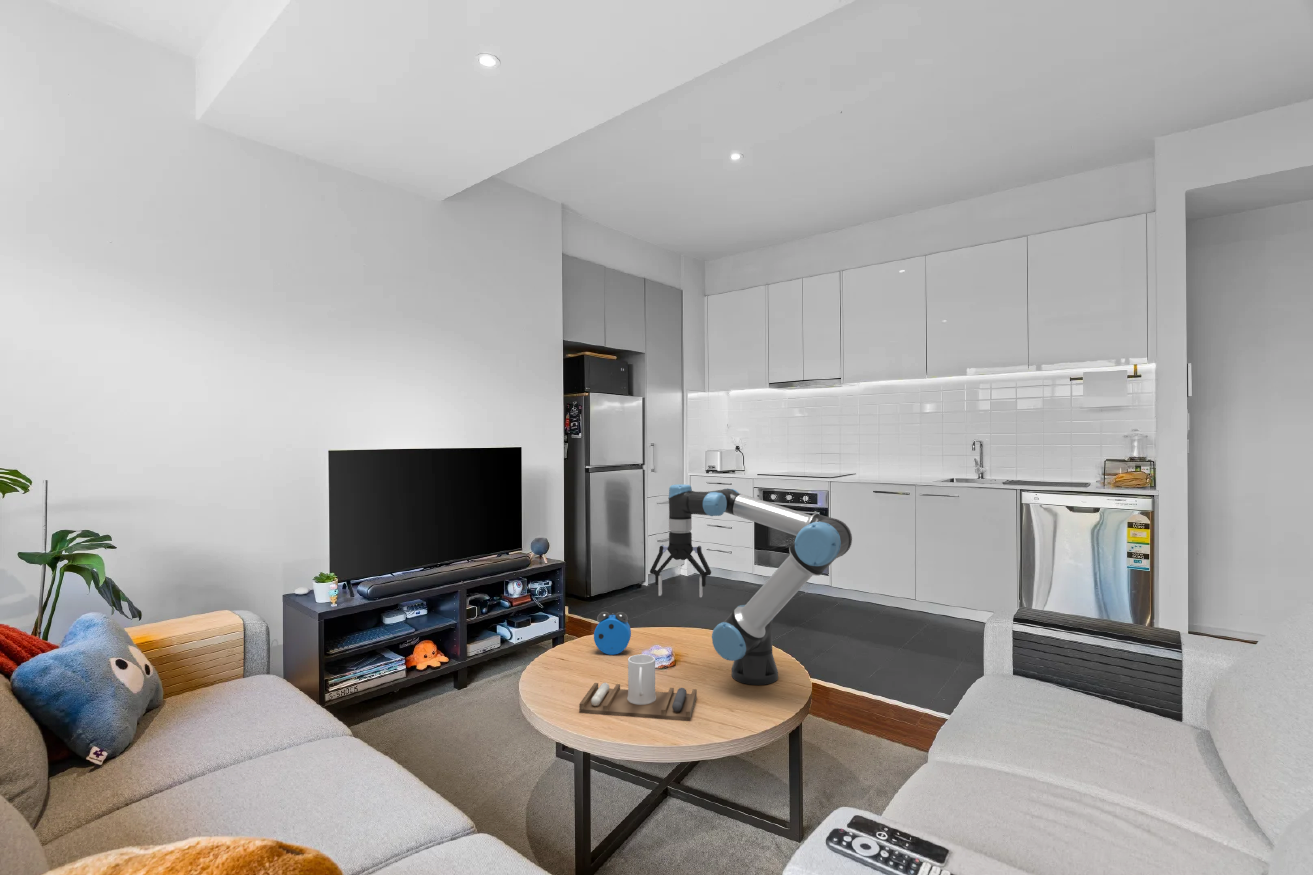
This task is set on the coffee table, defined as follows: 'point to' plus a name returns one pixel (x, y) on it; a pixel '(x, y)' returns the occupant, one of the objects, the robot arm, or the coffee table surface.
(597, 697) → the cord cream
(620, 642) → the alarm clock
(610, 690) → the tray
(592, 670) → the coffee table surface
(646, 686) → the mug
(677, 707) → the dark grey rounded rod
